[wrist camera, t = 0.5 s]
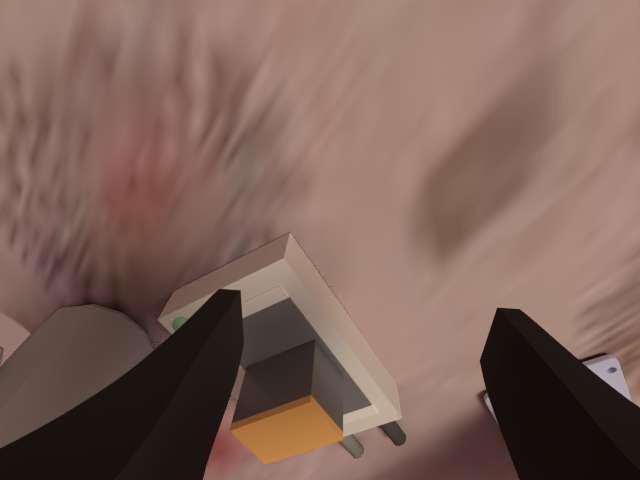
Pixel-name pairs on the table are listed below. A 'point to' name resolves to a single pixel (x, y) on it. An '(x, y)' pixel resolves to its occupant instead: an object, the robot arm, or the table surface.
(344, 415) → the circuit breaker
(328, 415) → the knob
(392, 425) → the cord
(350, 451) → the cord
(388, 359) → the table surface
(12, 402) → the water bottle
